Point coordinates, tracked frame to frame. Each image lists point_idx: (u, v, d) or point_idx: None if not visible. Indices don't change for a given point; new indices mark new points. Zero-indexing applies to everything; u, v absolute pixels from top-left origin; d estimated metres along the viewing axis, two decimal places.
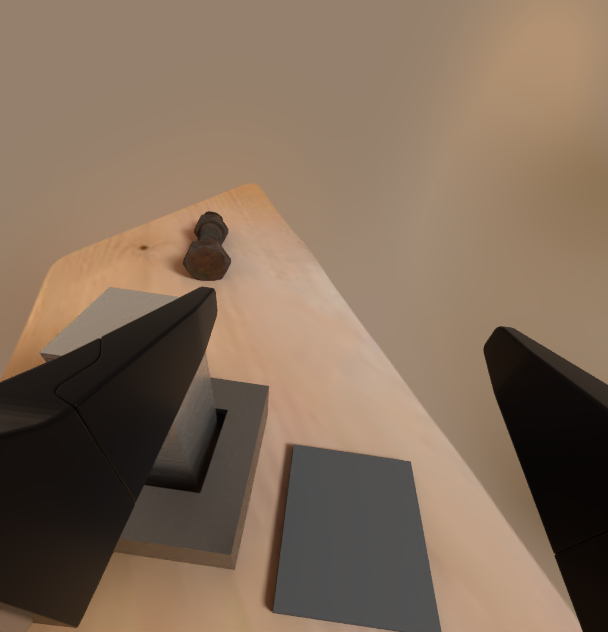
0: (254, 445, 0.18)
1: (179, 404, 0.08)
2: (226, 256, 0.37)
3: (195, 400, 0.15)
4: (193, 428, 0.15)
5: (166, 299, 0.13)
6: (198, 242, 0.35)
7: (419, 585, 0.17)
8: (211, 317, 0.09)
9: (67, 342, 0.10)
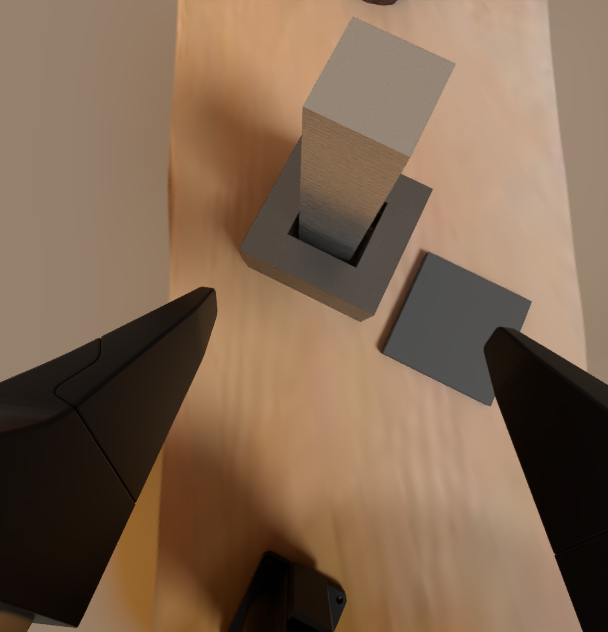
0: (406, 244, 0.20)
1: (179, 404, 0.08)
2: None
3: None
4: None
5: (419, 54, 0.10)
6: None
7: None
8: (211, 317, 0.09)
9: (325, 100, 0.10)
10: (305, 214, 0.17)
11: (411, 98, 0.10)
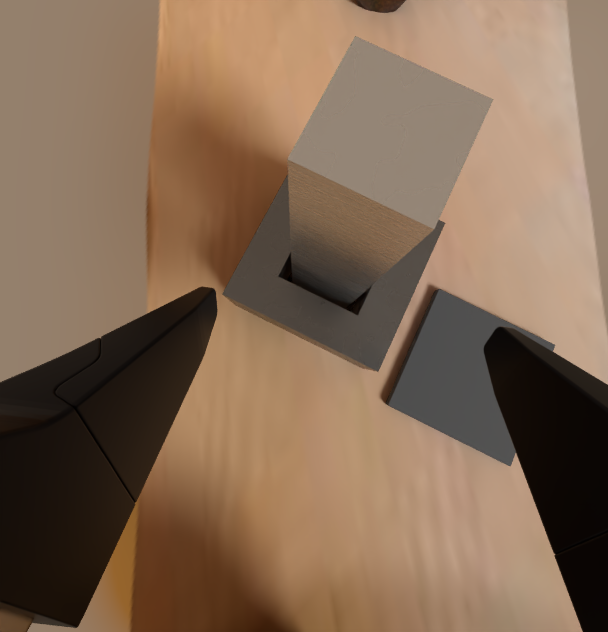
0: (414, 287, 0.17)
1: (179, 404, 0.08)
2: None
3: None
4: None
5: (444, 87, 0.08)
6: None
7: None
8: (211, 317, 0.09)
9: (318, 149, 0.07)
10: (298, 260, 0.14)
11: (434, 147, 0.07)
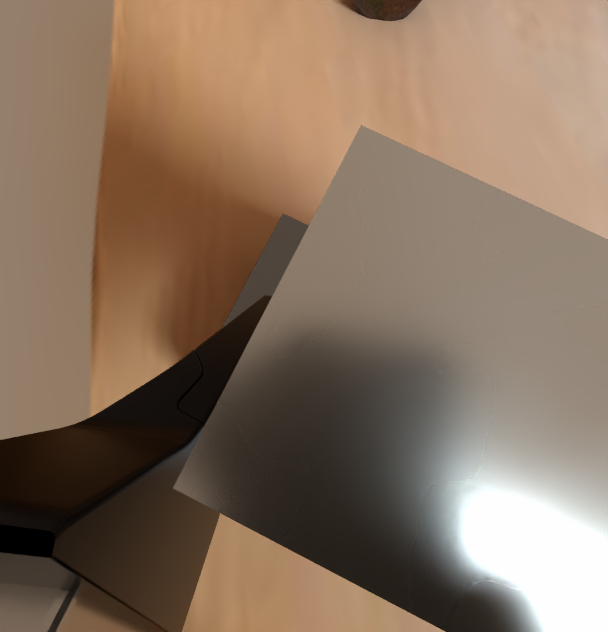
0: None
1: None
2: None
3: None
4: None
5: (591, 259, 0.03)
6: None
7: None
8: None
9: (258, 455, 0.03)
10: None
11: (577, 438, 0.03)
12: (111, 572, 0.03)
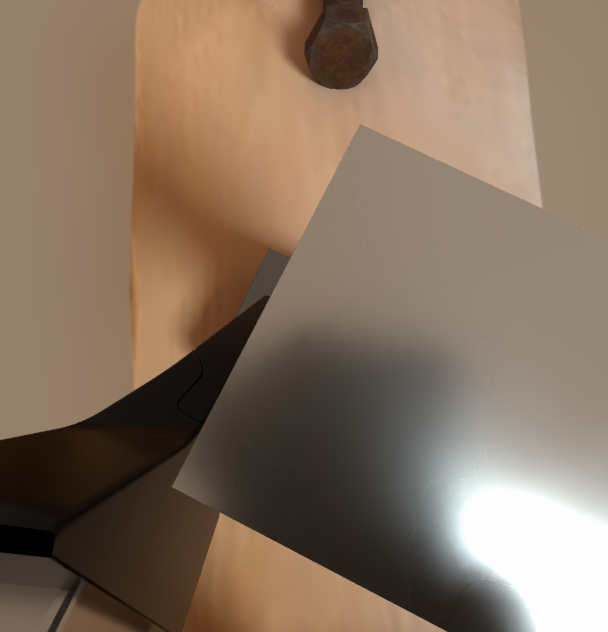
0: None
1: None
2: (374, 45, 0.22)
3: None
4: None
5: (590, 258, 0.03)
6: (335, 11, 0.21)
7: None
8: None
9: (257, 454, 0.03)
10: None
11: (574, 437, 0.03)
12: (111, 572, 0.03)
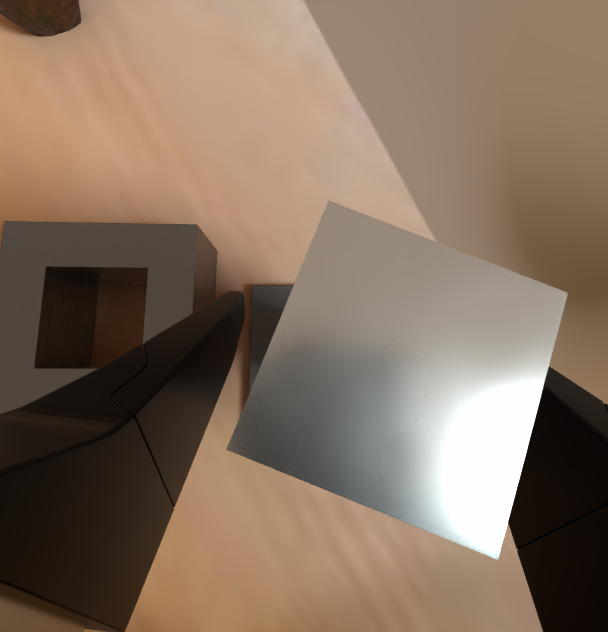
0: (191, 309, 0.15)
1: (212, 408, 0.08)
2: None
3: None
4: None
5: (485, 279, 0.04)
6: None
7: None
8: (240, 321, 0.09)
9: (279, 424, 0.04)
10: None
11: (481, 395, 0.04)
12: None
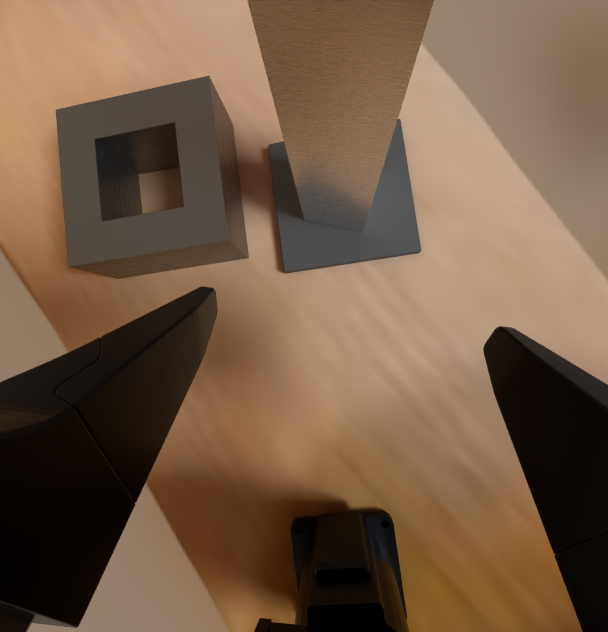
0: (216, 149, 0.17)
1: (179, 404, 0.08)
2: None
3: None
4: None
5: None
6: None
7: (403, 224, 0.19)
8: (211, 317, 0.09)
9: None
10: (298, 165, 0.13)
11: None
12: None
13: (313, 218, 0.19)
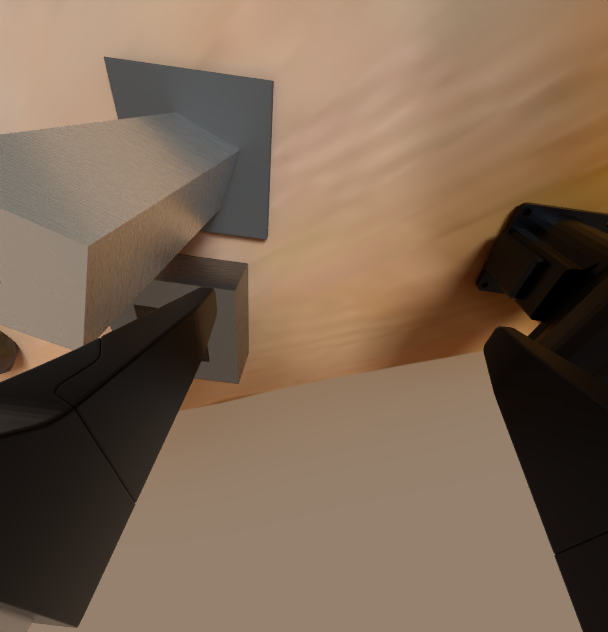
0: (155, 280, 0.20)
1: (179, 404, 0.08)
2: None
3: (122, 158, 0.10)
4: (162, 163, 0.11)
5: None
6: None
7: (236, 94, 0.16)
8: (211, 317, 0.09)
9: (62, 334, 0.08)
10: (182, 243, 0.14)
11: None
12: None
13: (220, 203, 0.19)
